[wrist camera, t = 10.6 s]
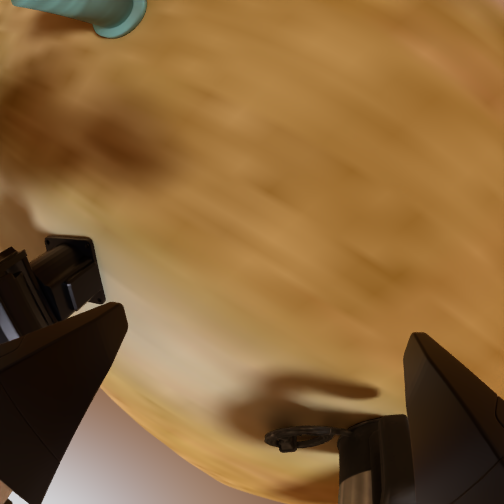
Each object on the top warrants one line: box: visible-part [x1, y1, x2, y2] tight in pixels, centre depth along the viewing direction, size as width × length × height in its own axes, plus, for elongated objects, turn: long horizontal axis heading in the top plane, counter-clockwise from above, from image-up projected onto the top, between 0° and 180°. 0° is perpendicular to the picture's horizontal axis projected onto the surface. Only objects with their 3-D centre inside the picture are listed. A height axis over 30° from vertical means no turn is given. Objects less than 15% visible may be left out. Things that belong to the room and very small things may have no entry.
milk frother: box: [264, 414, 416, 504], centre depth 22 cm, size 14×16×15 cm
